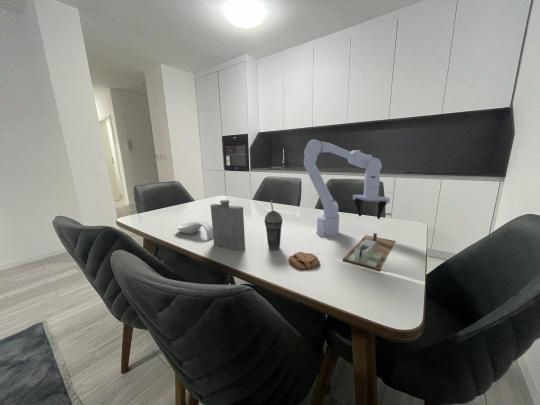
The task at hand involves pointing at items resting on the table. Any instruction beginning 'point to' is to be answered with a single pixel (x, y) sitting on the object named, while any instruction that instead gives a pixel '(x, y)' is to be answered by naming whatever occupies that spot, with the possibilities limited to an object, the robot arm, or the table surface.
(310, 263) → the cookie
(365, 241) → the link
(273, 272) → the table surface
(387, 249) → the stand
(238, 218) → the hip flask
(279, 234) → the beverage cup
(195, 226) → the white curved piece
